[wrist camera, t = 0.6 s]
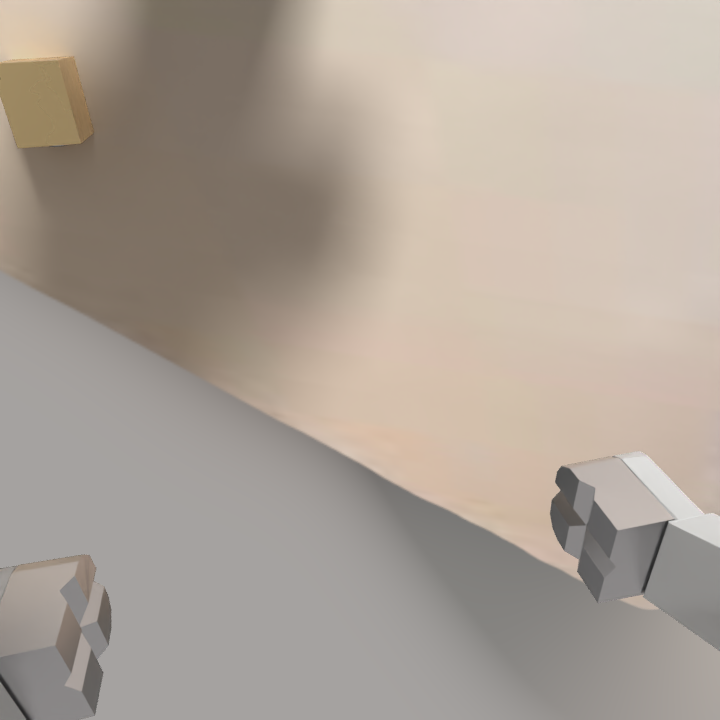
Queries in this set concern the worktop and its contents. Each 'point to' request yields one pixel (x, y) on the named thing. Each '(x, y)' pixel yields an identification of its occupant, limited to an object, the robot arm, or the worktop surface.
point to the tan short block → (44, 102)
